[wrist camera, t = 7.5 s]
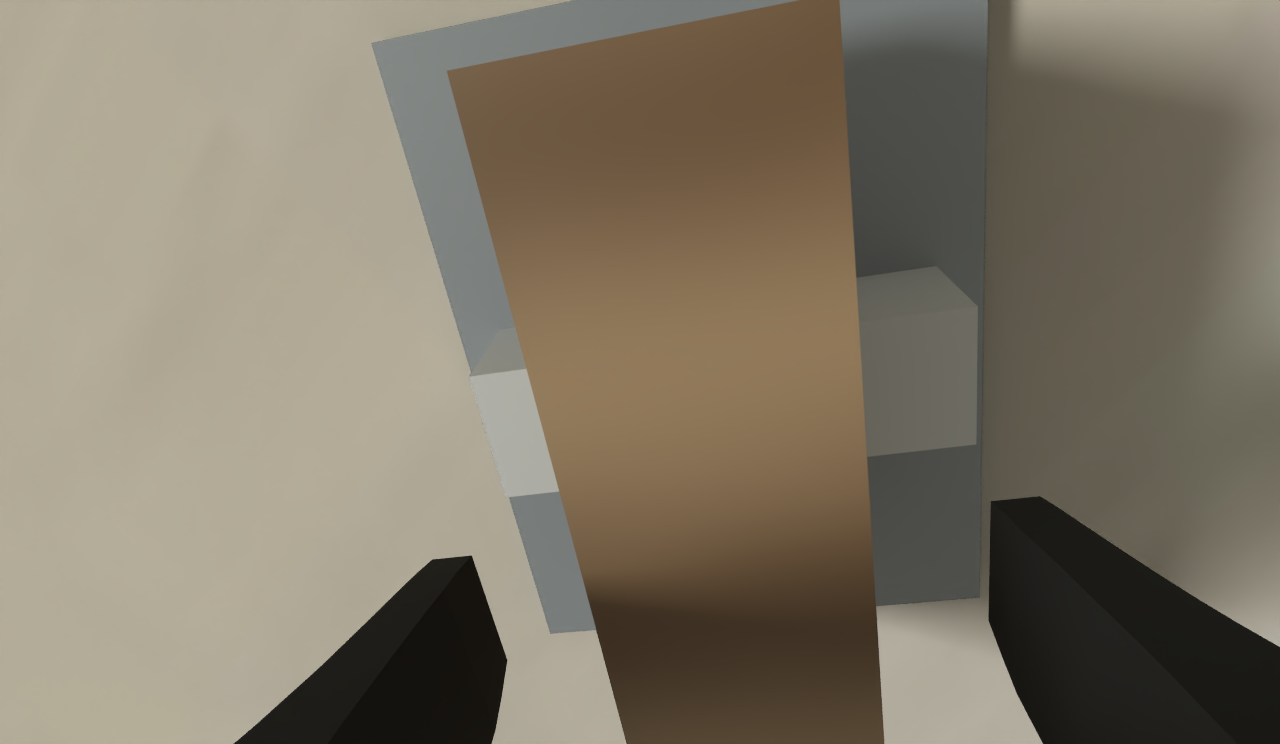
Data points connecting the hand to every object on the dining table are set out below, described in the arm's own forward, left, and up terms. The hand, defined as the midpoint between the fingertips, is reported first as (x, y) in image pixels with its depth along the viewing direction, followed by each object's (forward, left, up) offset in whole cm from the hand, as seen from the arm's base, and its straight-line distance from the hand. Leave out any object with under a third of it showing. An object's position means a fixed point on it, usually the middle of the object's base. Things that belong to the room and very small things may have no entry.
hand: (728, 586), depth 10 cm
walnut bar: (0, 0, -5) cm, 5 cm away
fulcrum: (0, 0, -8) cm, 8 cm away
